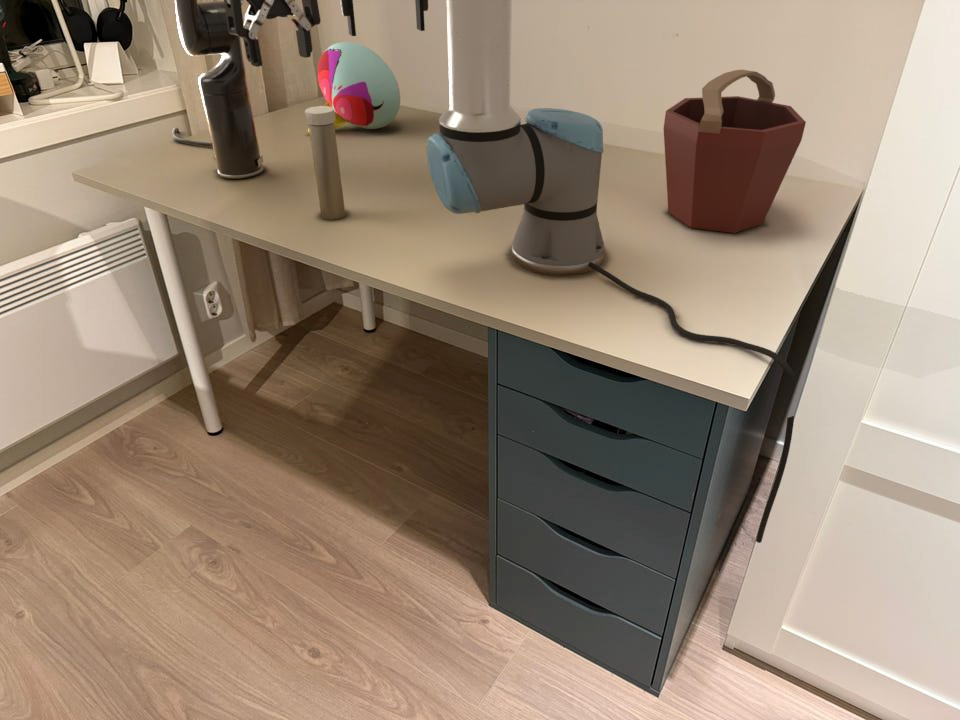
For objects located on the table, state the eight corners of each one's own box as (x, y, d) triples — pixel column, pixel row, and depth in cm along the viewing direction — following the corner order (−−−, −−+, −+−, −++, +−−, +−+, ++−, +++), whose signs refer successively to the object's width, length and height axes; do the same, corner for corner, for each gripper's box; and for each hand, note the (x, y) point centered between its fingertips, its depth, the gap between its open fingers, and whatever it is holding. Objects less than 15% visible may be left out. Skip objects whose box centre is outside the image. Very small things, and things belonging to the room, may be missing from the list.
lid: (319, 116, 126) (318, 104, 125) (341, 119, 124) (340, 108, 123) (300, 123, 122) (298, 111, 121) (322, 127, 120) (320, 115, 119)
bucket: (710, 250, 119) (740, 96, 105) (622, 208, 134) (638, 69, 120) (804, 218, 129) (843, 75, 115) (713, 183, 145) (736, 53, 131)
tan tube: (332, 209, 135) (318, 107, 125) (350, 213, 134) (338, 110, 123) (316, 216, 132) (301, 113, 122) (334, 221, 130) (321, 117, 120)
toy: (277, 110, 181) (275, 51, 163) (352, 72, 191) (358, 13, 173) (336, 175, 178) (341, 122, 160) (410, 134, 188) (421, 79, 170)
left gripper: (291, -67, 105) (306, 51, 114) (201, -61, 96) (226, 65, 105) (320, -64, 100) (334, 57, 109) (229, -59, 92) (252, 72, 101)
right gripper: (437, -101, 131) (441, 24, 143) (302, -99, 123) (318, 33, 135) (451, -100, 125) (454, 30, 137) (310, -98, 117) (326, 40, 129)
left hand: (281, 61), depth 107 cm, fingers open, 8 cm apart
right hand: (387, 32), depth 136 cm, fingers open, 13 cm apart
